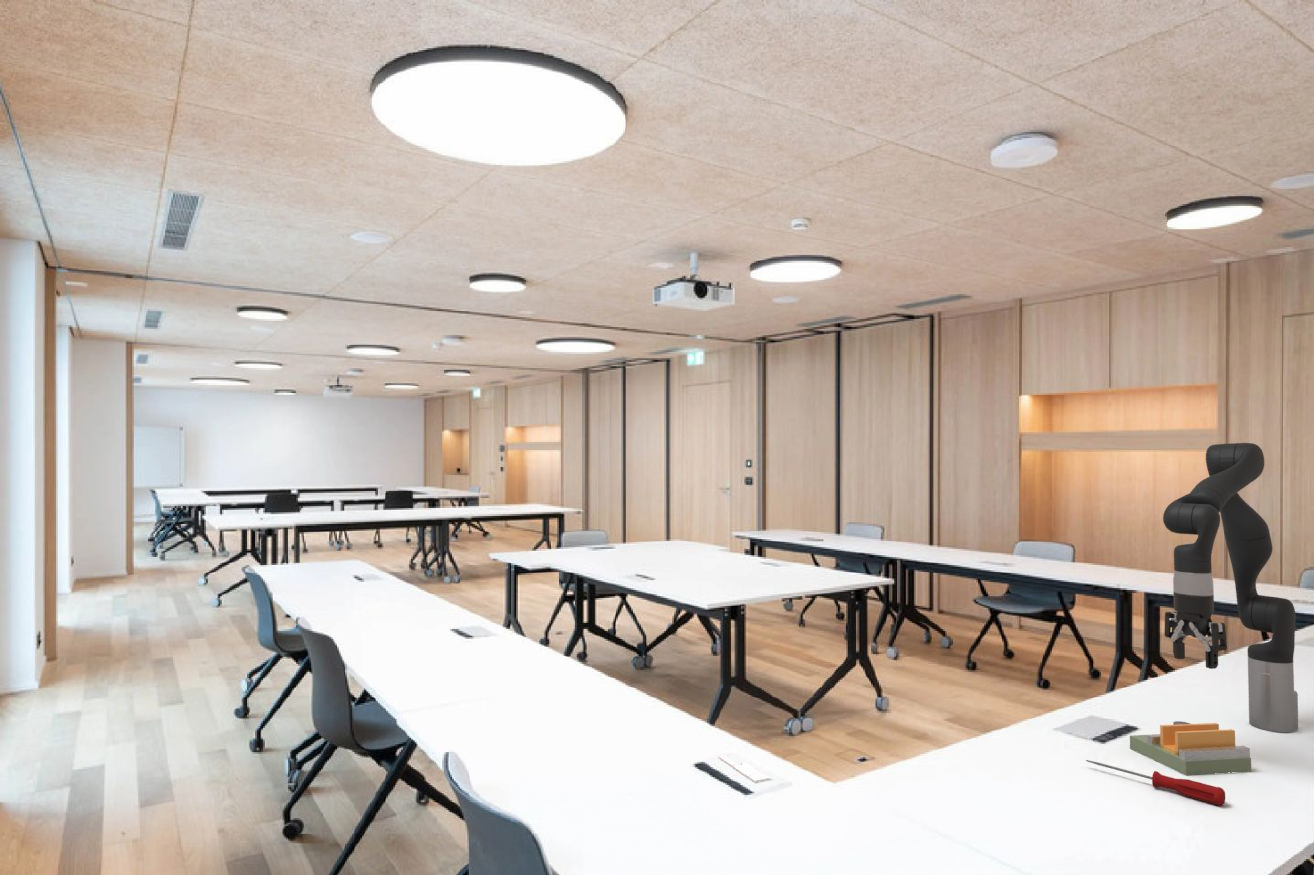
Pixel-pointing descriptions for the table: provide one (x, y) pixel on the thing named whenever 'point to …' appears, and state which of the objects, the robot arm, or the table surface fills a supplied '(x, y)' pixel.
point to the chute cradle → (1205, 751)
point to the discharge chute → (1194, 737)
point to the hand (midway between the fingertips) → (1195, 663)
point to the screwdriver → (1182, 786)
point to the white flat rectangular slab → (746, 770)
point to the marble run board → (1188, 767)
